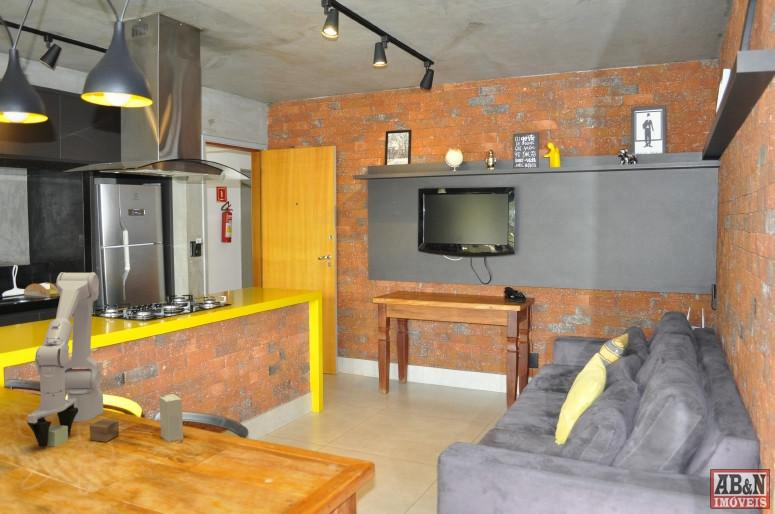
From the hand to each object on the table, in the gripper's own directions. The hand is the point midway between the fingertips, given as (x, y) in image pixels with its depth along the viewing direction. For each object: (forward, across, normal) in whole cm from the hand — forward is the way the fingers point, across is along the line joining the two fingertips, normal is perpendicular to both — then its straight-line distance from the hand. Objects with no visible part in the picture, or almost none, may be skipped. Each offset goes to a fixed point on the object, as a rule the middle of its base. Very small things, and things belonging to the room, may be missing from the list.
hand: (54, 440), depth 161 cm
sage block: (+2, 0, 0) cm, 2 cm away
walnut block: (0, -6, +10) cm, 12 cm away
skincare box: (+2, -12, +27) cm, 30 cm away
